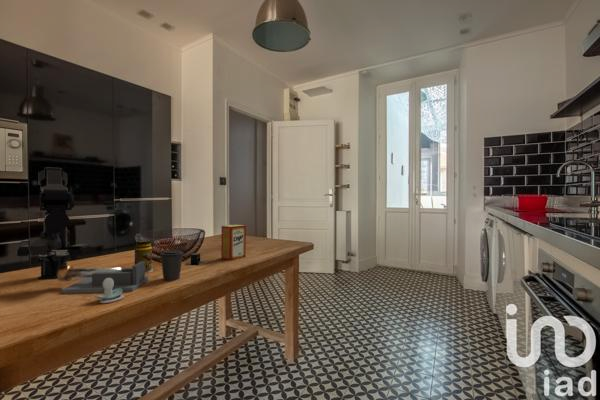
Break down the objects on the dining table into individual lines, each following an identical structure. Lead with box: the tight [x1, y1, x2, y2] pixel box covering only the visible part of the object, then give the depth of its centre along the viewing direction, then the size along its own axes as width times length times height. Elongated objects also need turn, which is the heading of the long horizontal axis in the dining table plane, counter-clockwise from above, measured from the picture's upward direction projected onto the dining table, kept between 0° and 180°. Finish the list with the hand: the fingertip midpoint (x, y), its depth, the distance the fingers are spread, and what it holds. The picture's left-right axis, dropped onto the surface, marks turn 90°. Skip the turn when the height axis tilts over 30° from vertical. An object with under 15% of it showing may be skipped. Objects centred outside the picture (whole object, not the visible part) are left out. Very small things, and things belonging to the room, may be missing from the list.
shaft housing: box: [61, 261, 149, 295], centre depth 96 cm, size 20×13×7 cm, turn 98°
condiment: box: [134, 239, 154, 274], centre depth 115 cm, size 7×8×12 cm
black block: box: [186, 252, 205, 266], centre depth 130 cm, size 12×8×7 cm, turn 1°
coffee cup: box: [159, 249, 185, 282], centre depth 105 cm, size 8×8×10 cm
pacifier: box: [93, 278, 125, 304], centre depth 84 cm, size 7×6×6 cm
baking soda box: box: [220, 224, 247, 261], centre depth 142 cm, size 10×6×16 cm
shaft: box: [57, 264, 124, 282], centre depth 95 cm, size 18×5×5 cm, turn 98°
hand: (55, 276), depth 94 cm, fingers closed
